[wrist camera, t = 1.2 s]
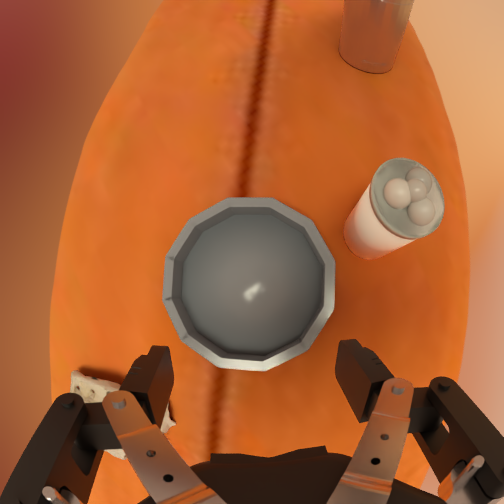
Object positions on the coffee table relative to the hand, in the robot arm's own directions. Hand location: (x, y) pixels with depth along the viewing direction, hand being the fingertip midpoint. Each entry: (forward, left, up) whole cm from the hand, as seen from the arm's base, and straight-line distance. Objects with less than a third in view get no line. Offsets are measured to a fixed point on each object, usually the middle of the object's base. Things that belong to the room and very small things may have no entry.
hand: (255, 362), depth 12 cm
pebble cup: (-10, +10, -17) cm, 23 cm away
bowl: (-4, -3, -17) cm, 18 cm away
